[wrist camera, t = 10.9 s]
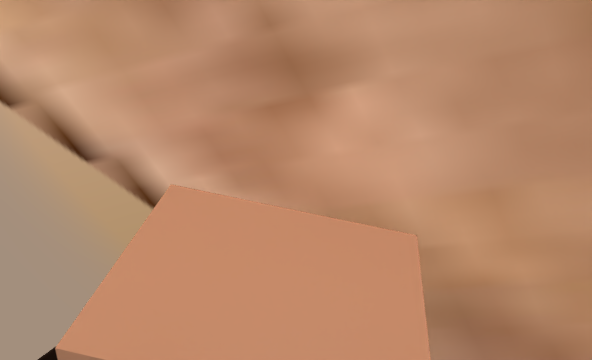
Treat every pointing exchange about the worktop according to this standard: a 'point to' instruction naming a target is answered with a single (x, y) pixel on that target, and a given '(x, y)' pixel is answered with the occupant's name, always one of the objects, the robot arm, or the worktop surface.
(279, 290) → the rust brick
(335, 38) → the worktop surface
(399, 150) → the worktop surface
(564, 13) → the worktop surface
